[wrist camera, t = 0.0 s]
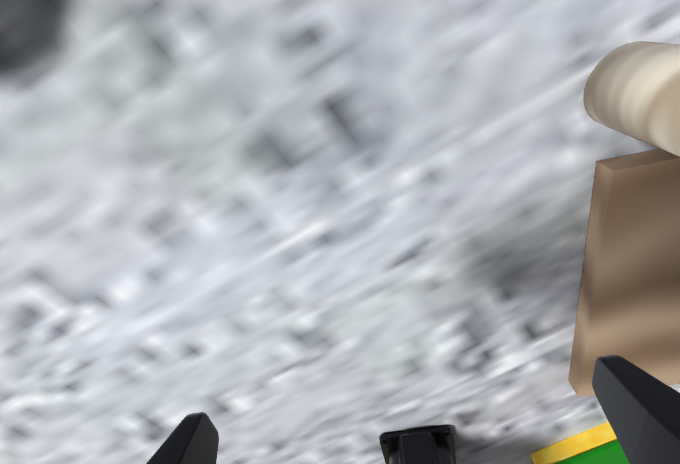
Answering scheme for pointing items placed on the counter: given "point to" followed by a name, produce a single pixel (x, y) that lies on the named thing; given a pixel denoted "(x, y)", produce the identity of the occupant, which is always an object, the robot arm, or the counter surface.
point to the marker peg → (638, 93)
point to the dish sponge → (584, 449)
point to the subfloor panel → (631, 269)
